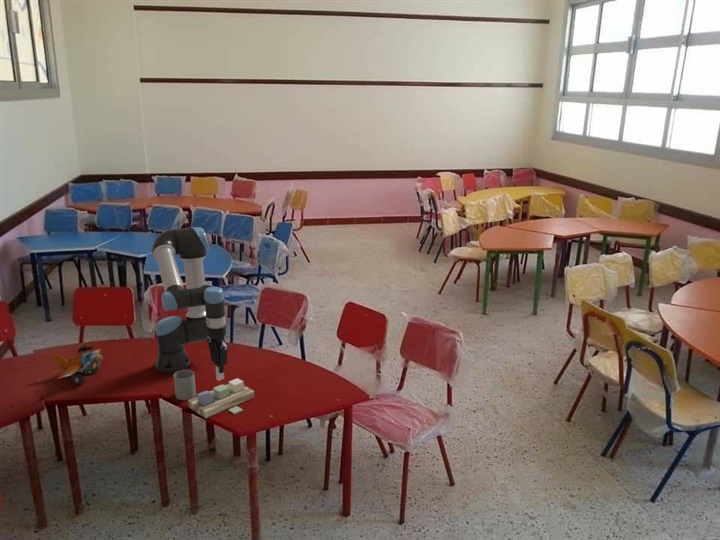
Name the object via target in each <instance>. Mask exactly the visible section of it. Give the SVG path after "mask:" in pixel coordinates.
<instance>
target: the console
mask: <svg viewBox="0 0 720 540" xmlns="http://www.w3.org/2000/svg"><path fill="white" fill-rule="evenodd" d="M224 385H225V386H226V387H228V388H229V383H228V384H224ZM209 392H210V393H212V394H213V402H214V403H212V404H210V405H207V406H205V407H202V406H201V405H199V404H198V399H197V396H195V397H193V398H191V399H188V400H187V406H188V408H189V409H191V410H192V411H193V412H195V413H196V414H198V415H200V416H201V417H203V418H204V419H205V420H206V419H208V418H209V419H210V418H211V417H213V416H216V415H217V414H220V413H222V412H224V411H227V410H229V409H231V408H233V407H236V406H238V405H240V404H243V403H245V402H247V401H249V400H251V399H254V398H255V390H253V389H251V388H250V387H248V386H246V385H244V390H243V391H241V392H238V393H236V394H234V393H233V392H231V391H229V397H226V398H224V399H222V400H218V399H216V398H215V397H214V392H213V390H210V391H209Z"/></svg>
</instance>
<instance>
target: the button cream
mask: <svg viewBox="0 0 720 540" xmlns="http://www.w3.org/2000/svg"><path fill="white" fill-rule="evenodd" d="M228 384H229V391H231V392H233V393H234V394H236V393H238V392H241V391H243V390H244V386H245V383H244V380H241V379H240V378H238V377H237V378H235V379H232V380H229V381H228Z"/></svg>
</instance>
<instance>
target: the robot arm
mask: <svg viewBox="0 0 720 540" xmlns="http://www.w3.org/2000/svg"><path fill="white" fill-rule="evenodd" d="M152 243H153V244H152V245H151V246H152V247H151V252H152V253H151V254H152V257H153V259H154V260H155V261H156V263H157V267H158V270H159V274H160V278H161V282H162V285H163V289H164V292H162V293H161V303H162V308H163V310H164V311H167V312H168V311H176V310H183V309H188V312H186V314H185V318H182V317H181V316H177V315H176V316H175V315H172V316H167V317H165V318H163V319H160V320H159V321H158V322H157V323H156V325H155V336H156V340H157V341H156V342H157V343H156V344H157V351H158V352H157V353H158V354H157V357H156V361H155V370H157V372H159V373H164V374H173V373H175V372H177V371H180V370H187V368H189V367H190V358H189V356H188V354H187V352H186V349H185V345H188V344H192V343H198V342H206V343H207V345H208V351H209V354H210V355H209V356H210V359H211V362H213V364H214V366H215V375H216V376H215V377H216V381H219V382H220V381H222V380H224V379H225V368H224V367H225V366H226V365H228V353H229V347H230V345H229V344H226V341H225V336H226V335H227V325H226V324H227V323H226V312H225V311H226V309H225V295H224V290H223V288H221V287H219V286H214V285H212V284H210V283H206V278H205V268H204V259H205V258H206V257H207V254H206V253H208V252H209V251H210V245H209V241H208V237H207V234H206V232H205V230H204V228H203V227H200V226H198V227H193V226H191V227H184V228H175V229H172V228H171V229H167V230H164V231H163V232H161V233H160V234H159V235H157V237H156V238H155V239H154V241H153V242H152ZM176 256H179V259H180V260H181V261H182V262H183V267H184V268H183V270H184V277H185V286H184V284H183V281H182V277H181V274H180V270H179V267H178V263H177V261H176ZM185 288H186V289H185Z"/></svg>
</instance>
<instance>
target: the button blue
mask: <svg viewBox="0 0 720 540" xmlns="http://www.w3.org/2000/svg"><path fill="white" fill-rule="evenodd" d="M196 397H197V399H198V404H199V405H201V406H202V407H205V406H207V405H210V404H212V403H214V402H213V394H212V393H210V391H208V390H204V391H202V392H200V393H196Z"/></svg>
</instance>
